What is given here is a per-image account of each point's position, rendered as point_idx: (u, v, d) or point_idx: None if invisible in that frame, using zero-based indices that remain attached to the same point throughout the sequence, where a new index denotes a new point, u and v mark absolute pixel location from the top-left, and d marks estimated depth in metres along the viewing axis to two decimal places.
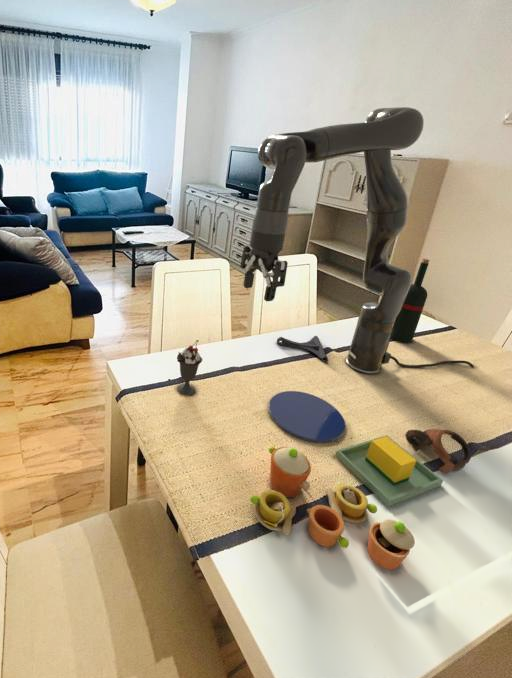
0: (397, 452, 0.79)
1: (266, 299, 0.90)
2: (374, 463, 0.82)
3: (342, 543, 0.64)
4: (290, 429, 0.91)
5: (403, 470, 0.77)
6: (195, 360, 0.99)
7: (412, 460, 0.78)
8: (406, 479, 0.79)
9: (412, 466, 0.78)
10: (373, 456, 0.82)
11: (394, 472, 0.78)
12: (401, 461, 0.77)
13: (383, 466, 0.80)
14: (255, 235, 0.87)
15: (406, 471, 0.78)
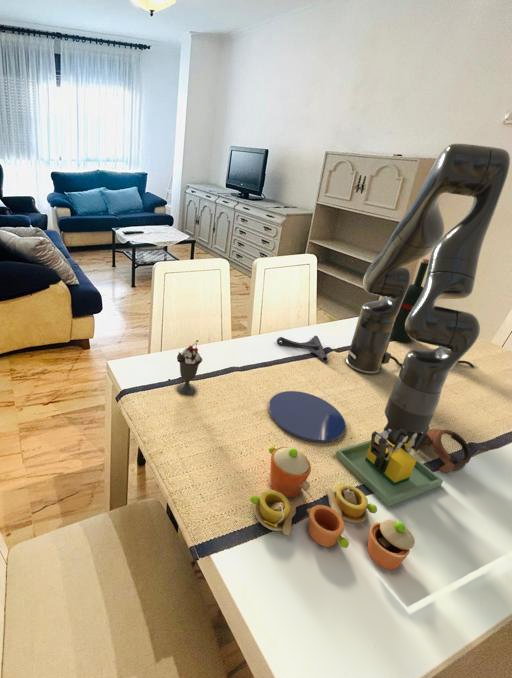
0: (397, 452, 0.79)
1: None
2: None
3: (342, 543, 0.64)
4: (290, 429, 0.91)
5: (403, 470, 0.77)
6: (195, 360, 0.99)
7: (412, 460, 0.78)
8: (406, 479, 0.79)
9: (412, 466, 0.78)
10: (373, 456, 0.82)
11: (394, 472, 0.78)
12: (401, 461, 0.77)
13: None
14: None
15: (406, 471, 0.78)
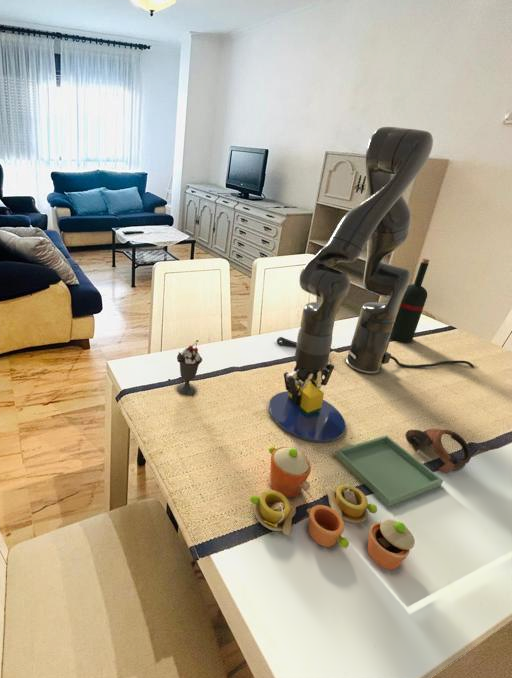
0: (309, 388, 0.96)
1: None
2: None
3: (342, 543, 0.64)
4: (290, 429, 0.91)
5: (312, 402, 0.94)
6: (195, 360, 0.99)
7: (320, 393, 0.95)
8: (318, 409, 0.96)
9: (321, 398, 0.95)
10: None
11: (306, 404, 0.95)
12: (310, 395, 0.94)
13: None
14: None
15: (316, 403, 0.95)
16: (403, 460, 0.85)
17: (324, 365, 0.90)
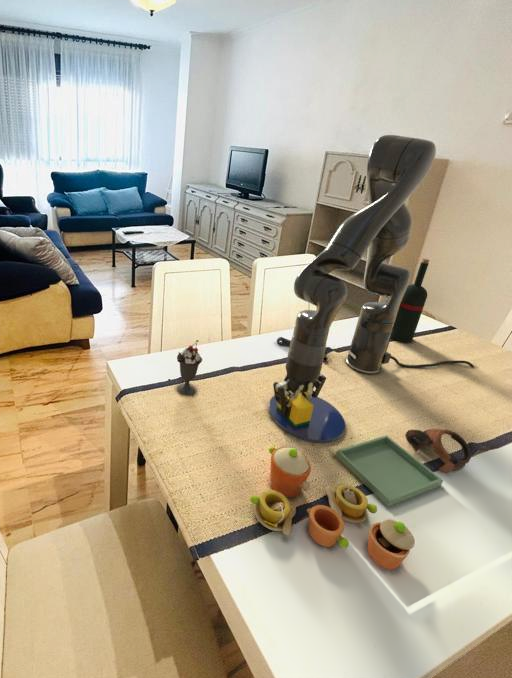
0: (299, 399, 0.92)
1: None
2: None
3: (342, 543, 0.64)
4: (290, 429, 0.91)
5: (301, 414, 0.90)
6: (195, 360, 0.99)
7: (309, 405, 0.90)
8: (307, 422, 0.92)
9: (310, 410, 0.91)
10: None
11: (295, 416, 0.91)
12: (299, 406, 0.90)
13: None
14: None
15: (305, 415, 0.91)
16: (403, 460, 0.85)
17: (316, 376, 0.86)
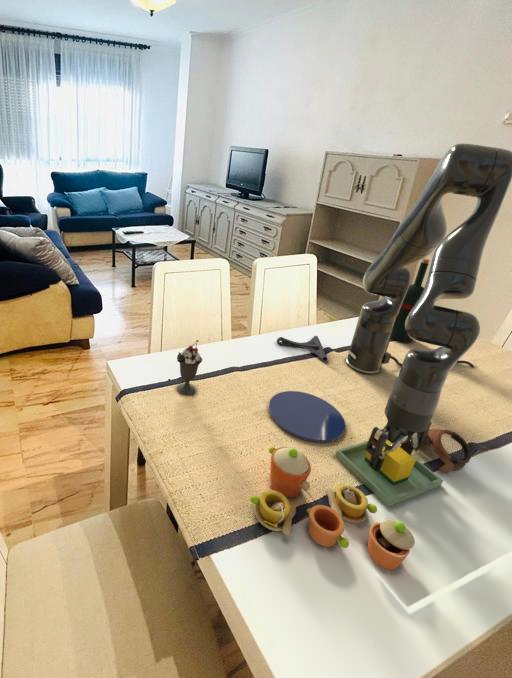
0: (396, 452, 0.79)
1: None
2: None
3: (342, 543, 0.64)
4: (290, 429, 0.90)
5: (402, 470, 0.77)
6: (195, 360, 0.99)
7: (411, 460, 0.78)
8: (405, 478, 0.79)
9: (411, 465, 0.78)
10: None
11: (394, 472, 0.78)
12: (400, 461, 0.77)
13: (382, 466, 0.80)
14: None
15: (405, 471, 0.78)
16: None
17: (426, 427, 0.74)
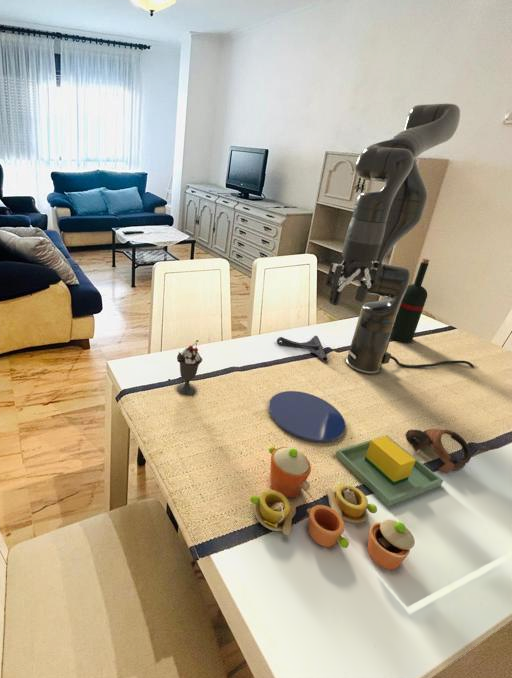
0: (396, 452, 0.79)
1: None
2: (373, 463, 0.82)
3: (342, 543, 0.64)
4: (290, 429, 0.90)
5: (402, 470, 0.77)
6: (195, 360, 0.99)
7: (411, 460, 0.78)
8: (405, 478, 0.79)
9: (411, 465, 0.78)
10: (372, 456, 0.82)
11: (394, 472, 0.78)
12: (400, 461, 0.77)
13: (382, 466, 0.80)
14: None
15: (405, 471, 0.78)
16: None
17: (374, 258, 0.87)
